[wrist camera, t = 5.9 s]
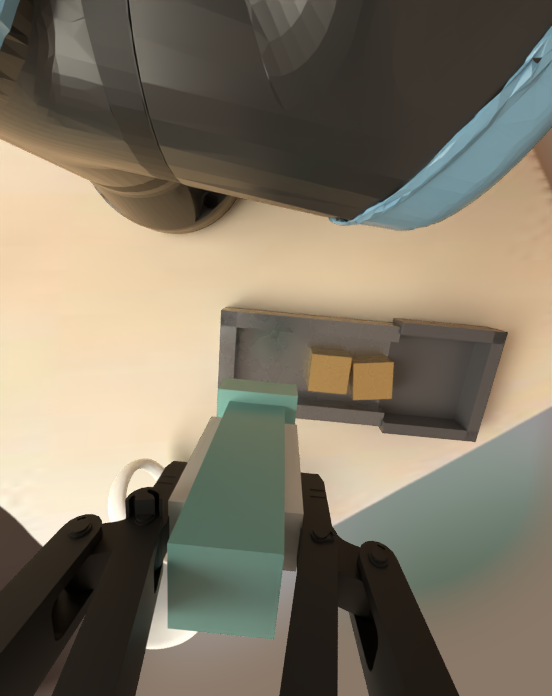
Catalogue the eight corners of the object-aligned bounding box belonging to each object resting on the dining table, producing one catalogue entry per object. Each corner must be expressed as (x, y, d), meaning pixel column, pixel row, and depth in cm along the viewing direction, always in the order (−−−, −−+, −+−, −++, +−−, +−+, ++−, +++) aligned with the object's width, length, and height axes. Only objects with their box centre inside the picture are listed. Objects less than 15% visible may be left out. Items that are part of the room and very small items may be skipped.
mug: (115, 452, 37) (24, 547, 24) (190, 417, 35) (136, 499, 22) (177, 539, 40) (126, 664, 27) (248, 510, 38) (230, 629, 25)
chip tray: (393, 318, 31) (404, 322, 28) (487, 326, 31) (507, 332, 28) (374, 419, 34) (382, 432, 31) (459, 427, 34) (475, 441, 31)
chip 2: (348, 356, 32) (353, 363, 30) (385, 355, 32) (393, 362, 29) (347, 390, 33) (353, 400, 31) (383, 389, 33) (391, 398, 30)
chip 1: (310, 347, 32) (312, 354, 29) (347, 351, 32) (352, 357, 29) (306, 382, 33) (307, 390, 30) (341, 385, 33) (346, 394, 30)
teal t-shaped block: (224, 377, 20) (141, 519, 9) (296, 384, 20) (312, 536, 8) (221, 441, 21) (145, 642, 10) (289, 448, 21) (294, 657, 10)
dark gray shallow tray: (226, 307, 32) (221, 310, 29) (392, 322, 31) (401, 327, 29) (221, 400, 34) (217, 410, 32) (374, 415, 34) (381, 426, 32)
